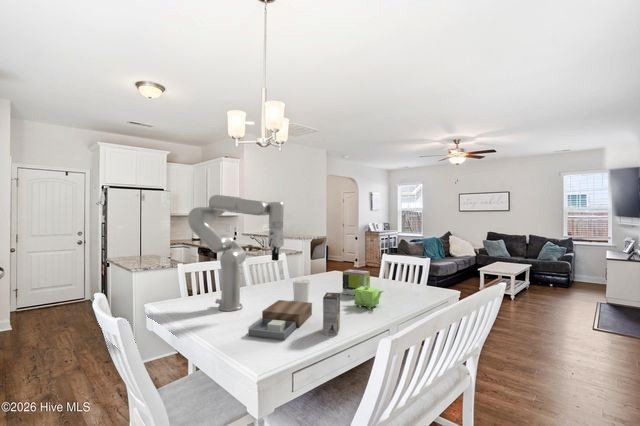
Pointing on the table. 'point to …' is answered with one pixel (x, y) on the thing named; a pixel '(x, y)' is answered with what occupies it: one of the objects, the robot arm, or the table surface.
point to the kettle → (366, 296)
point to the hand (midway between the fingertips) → (275, 260)
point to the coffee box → (331, 313)
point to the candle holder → (301, 290)
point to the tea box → (355, 280)
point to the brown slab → (288, 311)
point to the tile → (276, 325)
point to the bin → (262, 332)
